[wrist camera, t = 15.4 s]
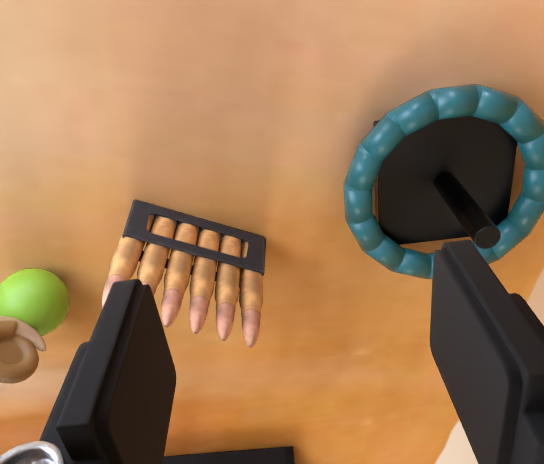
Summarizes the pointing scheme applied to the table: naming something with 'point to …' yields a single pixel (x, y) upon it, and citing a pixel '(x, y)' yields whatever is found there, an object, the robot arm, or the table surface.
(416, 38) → the table surface
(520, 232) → the ring
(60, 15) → the table surface
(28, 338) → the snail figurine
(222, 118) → the table surface
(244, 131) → the table surface
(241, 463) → the external hard drive
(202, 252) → the ammunition clip
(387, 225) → the stand
